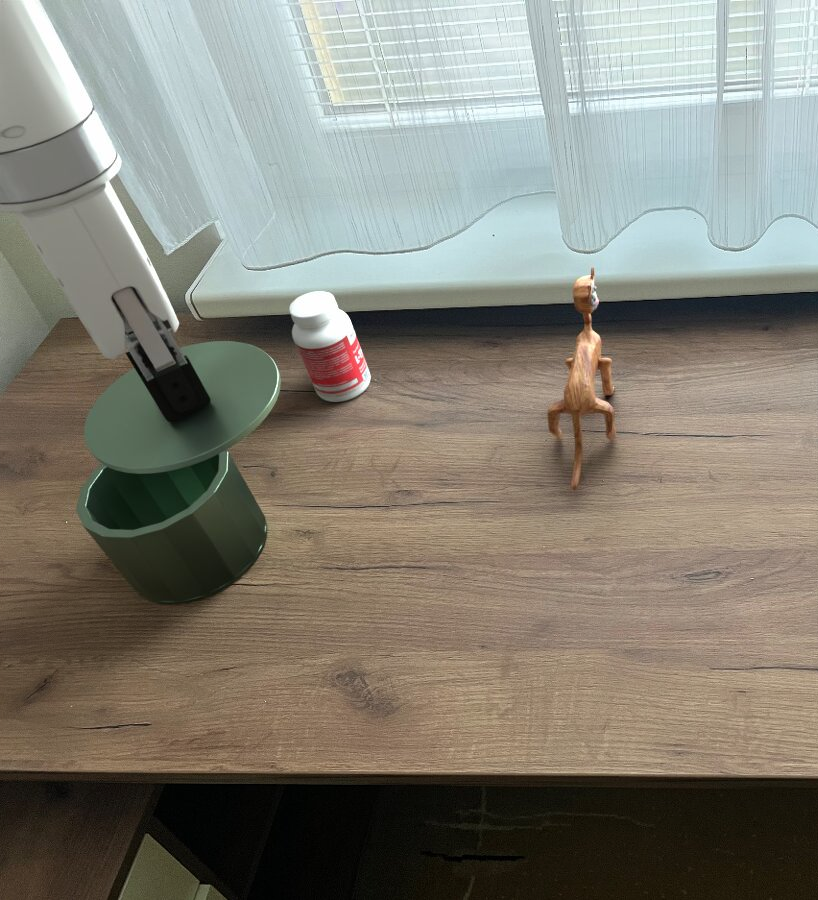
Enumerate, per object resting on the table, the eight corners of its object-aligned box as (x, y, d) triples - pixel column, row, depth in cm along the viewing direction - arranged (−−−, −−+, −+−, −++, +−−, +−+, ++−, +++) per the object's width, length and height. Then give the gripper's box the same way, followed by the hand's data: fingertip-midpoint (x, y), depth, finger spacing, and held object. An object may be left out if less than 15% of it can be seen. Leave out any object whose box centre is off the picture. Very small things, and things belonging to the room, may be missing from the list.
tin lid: (121, 512, 57) (71, 443, 52) (72, 409, 65) (25, 343, 60) (313, 414, 62) (282, 344, 57) (245, 330, 70) (213, 264, 66)
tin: (155, 630, 76) (99, 562, 69) (114, 546, 83) (61, 477, 76) (288, 552, 80) (249, 481, 74) (238, 479, 88) (198, 409, 81)
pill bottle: (378, 391, 96) (348, 308, 88) (324, 411, 94) (288, 329, 86) (363, 361, 100) (333, 279, 92) (311, 380, 98) (275, 299, 91)
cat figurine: (610, 499, 81) (594, 388, 71) (540, 498, 82) (516, 387, 72) (628, 374, 94) (617, 264, 84) (567, 374, 94) (550, 266, 85)
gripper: (-51, 136, 53) (100, 370, 66) (-2, 234, 43) (164, 487, 56) (74, 96, 56) (196, 328, 69) (147, 179, 46) (273, 431, 59)
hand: (180, 397), depth 62 cm, fingers closed on tin lid, 2 cm apart
